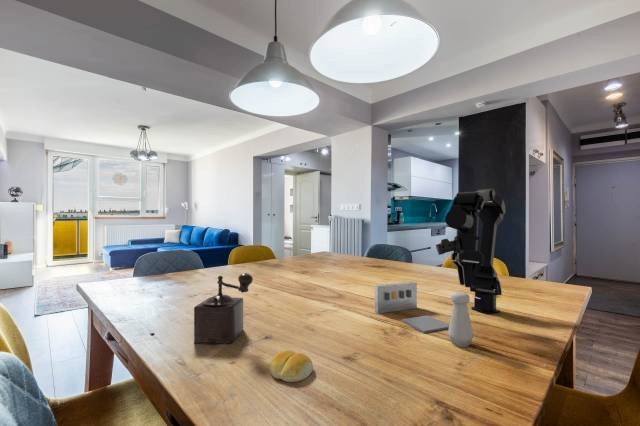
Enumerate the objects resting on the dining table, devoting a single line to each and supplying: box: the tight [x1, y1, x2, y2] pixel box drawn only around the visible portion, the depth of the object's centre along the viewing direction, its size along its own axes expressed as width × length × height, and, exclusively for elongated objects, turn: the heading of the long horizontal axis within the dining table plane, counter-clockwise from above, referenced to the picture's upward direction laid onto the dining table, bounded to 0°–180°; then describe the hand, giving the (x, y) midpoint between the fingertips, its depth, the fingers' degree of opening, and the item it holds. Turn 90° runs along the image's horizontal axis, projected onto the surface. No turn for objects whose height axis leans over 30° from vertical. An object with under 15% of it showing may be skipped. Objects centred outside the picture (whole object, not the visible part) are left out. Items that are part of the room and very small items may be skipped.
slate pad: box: [401, 314, 450, 334], centre depth 91 cm, size 10×10×1 cm
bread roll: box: [269, 350, 314, 383], centre depth 64 cm, size 8×9×4 cm
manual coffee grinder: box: [193, 272, 254, 345], centre depth 83 cm, size 16×11×18 cm
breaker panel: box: [374, 281, 418, 315], centre depth 104 cm, size 16×3×9 cm, turn 111°
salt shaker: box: [447, 291, 474, 348], centre depth 77 cm, size 6×6×13 cm
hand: (464, 286), depth 88 cm, fingers open, 9 cm apart
